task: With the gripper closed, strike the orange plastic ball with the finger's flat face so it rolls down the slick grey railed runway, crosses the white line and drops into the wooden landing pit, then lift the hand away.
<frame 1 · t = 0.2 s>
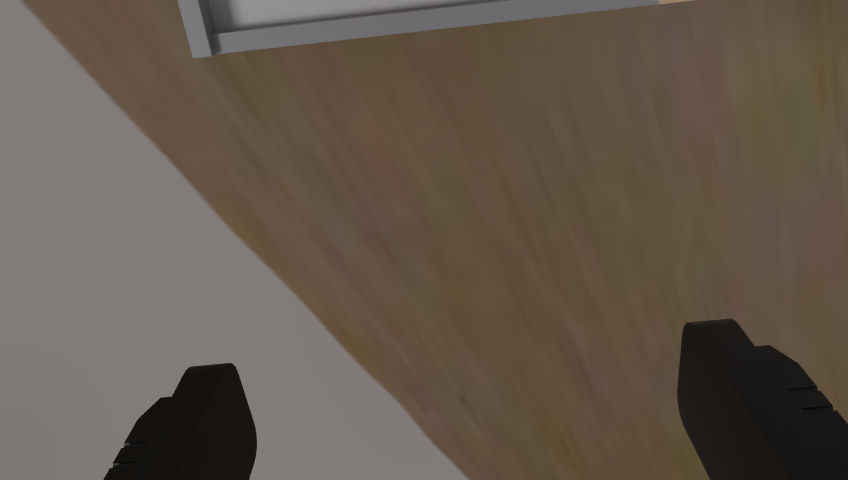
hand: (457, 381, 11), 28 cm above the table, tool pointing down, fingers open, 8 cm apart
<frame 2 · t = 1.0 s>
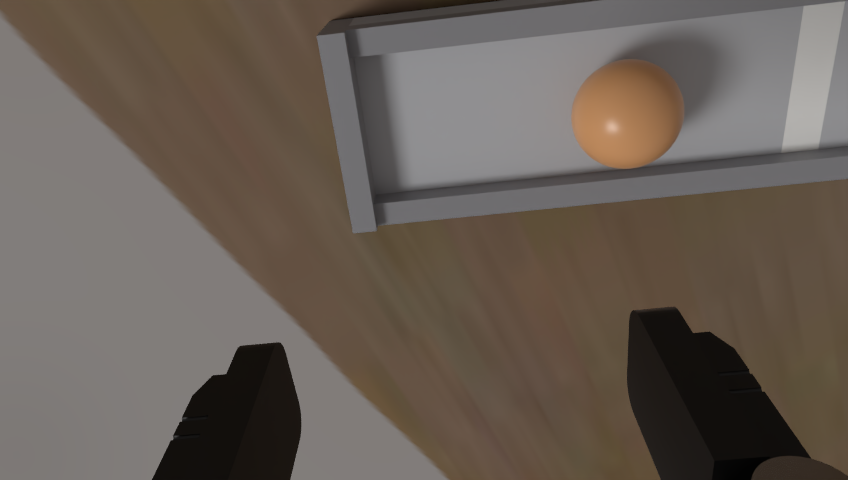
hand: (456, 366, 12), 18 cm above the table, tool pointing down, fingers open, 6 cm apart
ball: (626, 114, 24), point 4 cm above the table, touching lane
lane: (767, 69, 27), on the table
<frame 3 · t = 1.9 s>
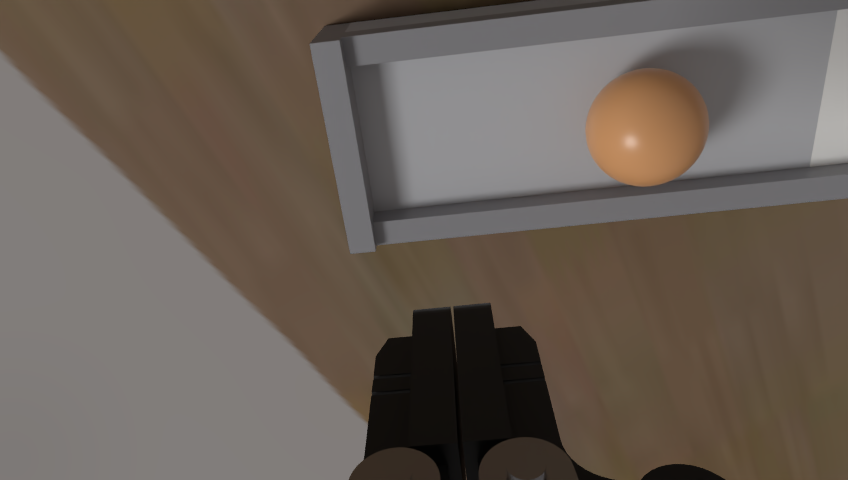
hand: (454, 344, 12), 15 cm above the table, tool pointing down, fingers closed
ball: (645, 128, 22), point 4 cm above the table, touching lane
lane: (795, 77, 25), on the table
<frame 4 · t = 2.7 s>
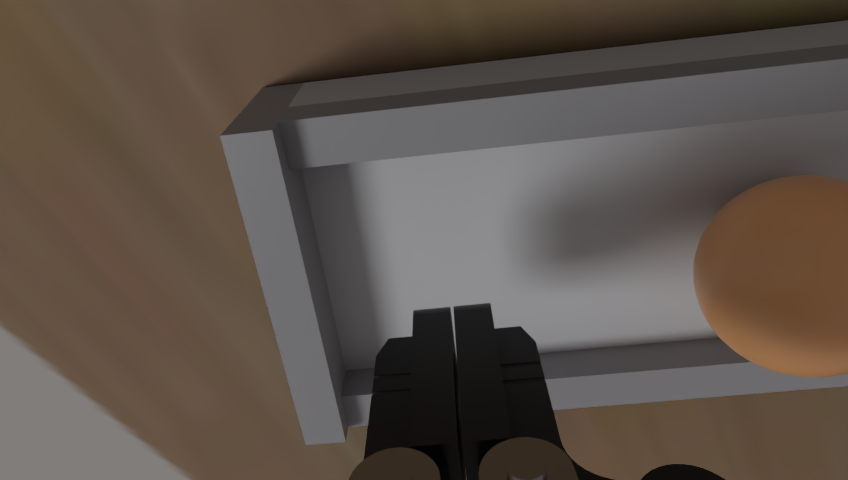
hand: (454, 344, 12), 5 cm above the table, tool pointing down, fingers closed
ball: (801, 275, 13), point 4 cm above the table, touching lane
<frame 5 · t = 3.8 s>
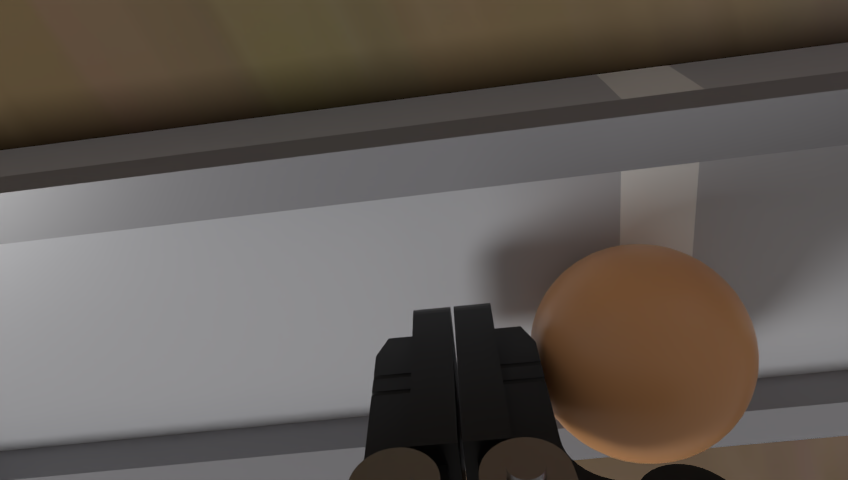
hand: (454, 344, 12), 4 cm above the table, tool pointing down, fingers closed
ball: (638, 350, 12), point 4 cm above the table, tilted 46°, touching lane
lane: (597, 240, 15), on the table
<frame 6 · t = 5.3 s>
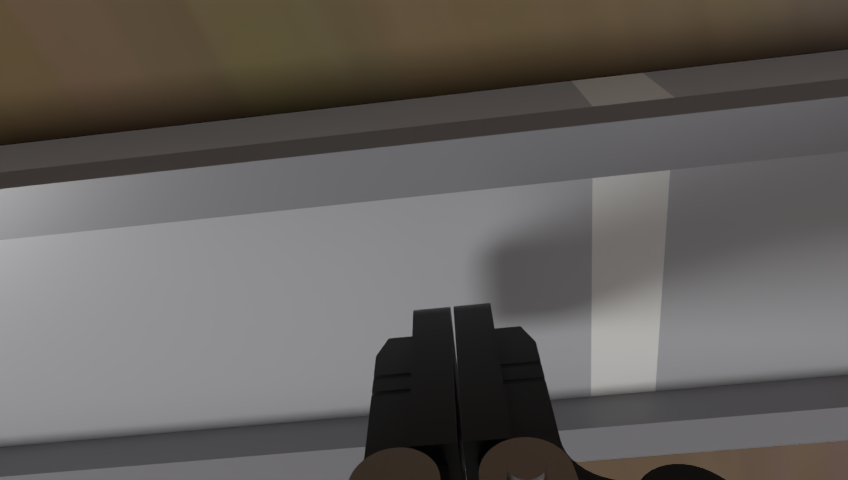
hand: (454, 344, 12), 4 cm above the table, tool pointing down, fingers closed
lane: (572, 245, 15), on the table
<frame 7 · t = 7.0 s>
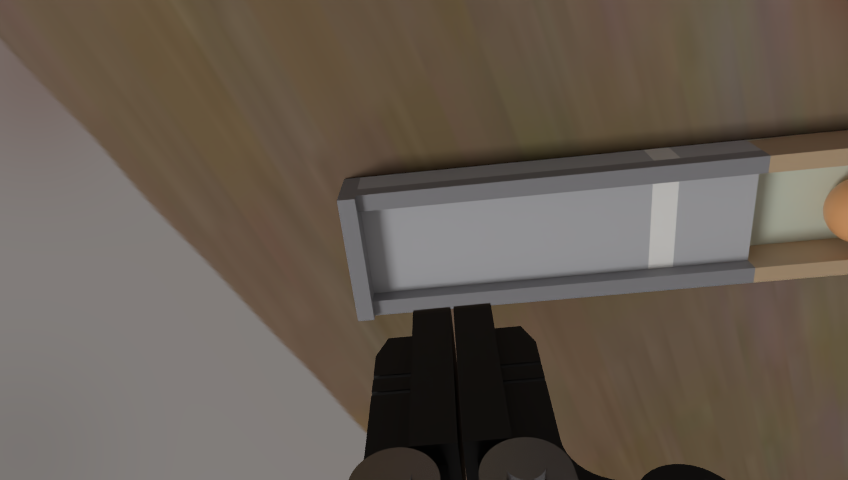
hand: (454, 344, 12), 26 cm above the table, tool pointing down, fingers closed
lane: (640, 211, 39), on the table
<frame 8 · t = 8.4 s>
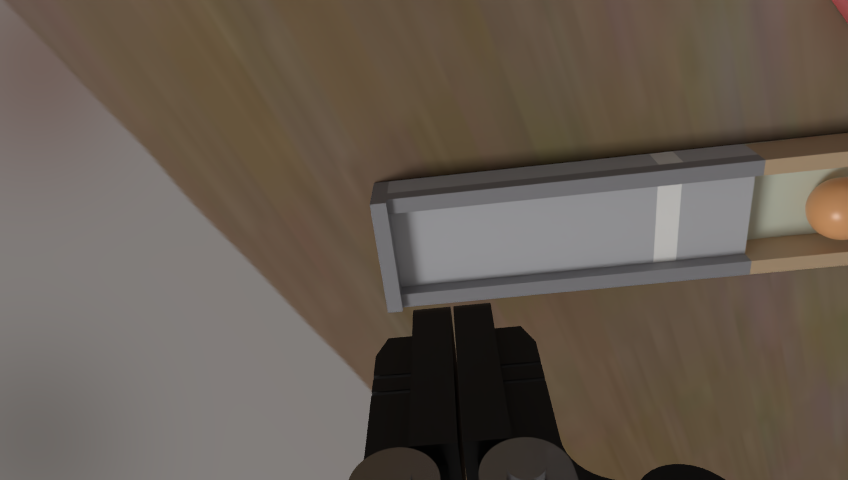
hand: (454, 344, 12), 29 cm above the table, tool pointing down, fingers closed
ball: (841, 208, 40), point 2 cm above the table, tilted 23°, touching lane
lane: (646, 209, 43), on the table
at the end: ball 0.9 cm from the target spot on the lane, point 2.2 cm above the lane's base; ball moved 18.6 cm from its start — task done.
